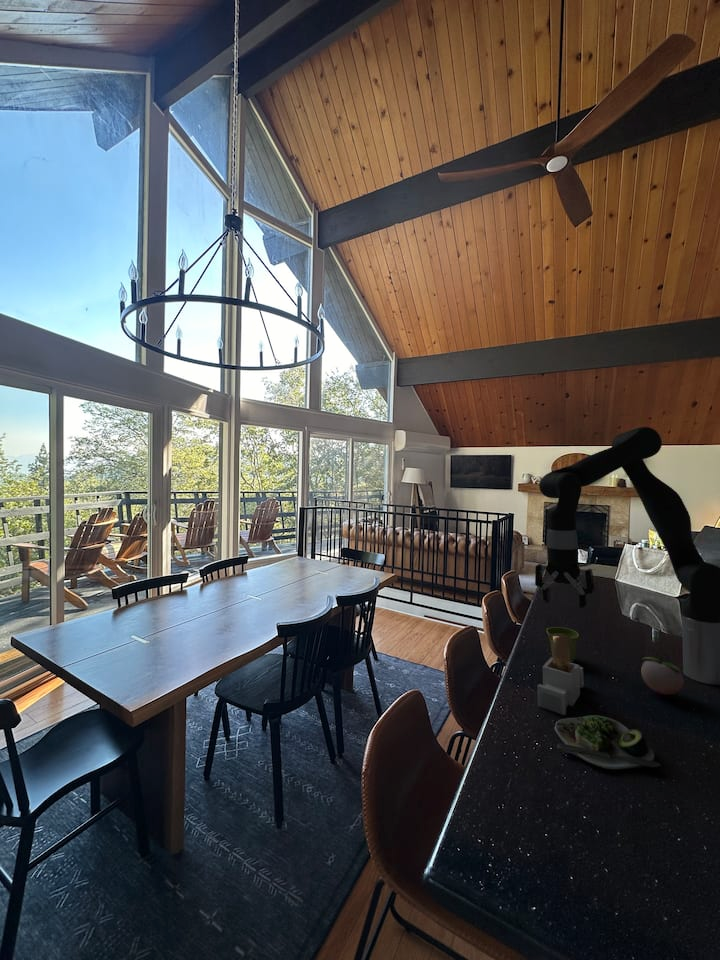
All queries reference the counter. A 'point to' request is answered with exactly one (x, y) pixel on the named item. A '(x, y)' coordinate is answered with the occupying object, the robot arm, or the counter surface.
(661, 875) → the counter surface
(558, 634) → the brown rounded rod
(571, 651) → the plant pot
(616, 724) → the salad plate
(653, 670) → the decorative fruit
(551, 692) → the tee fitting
